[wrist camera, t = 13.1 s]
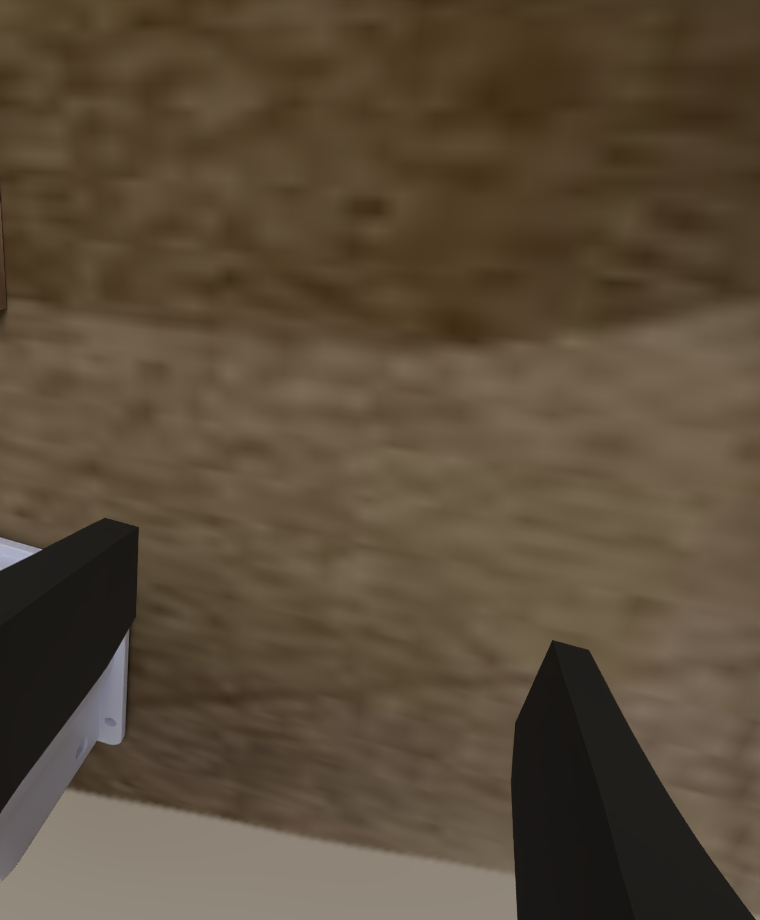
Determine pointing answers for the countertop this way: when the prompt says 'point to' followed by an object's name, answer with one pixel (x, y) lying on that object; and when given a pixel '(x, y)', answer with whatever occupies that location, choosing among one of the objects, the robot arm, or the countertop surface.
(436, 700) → the countertop surface
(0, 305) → the tray
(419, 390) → the countertop surface
